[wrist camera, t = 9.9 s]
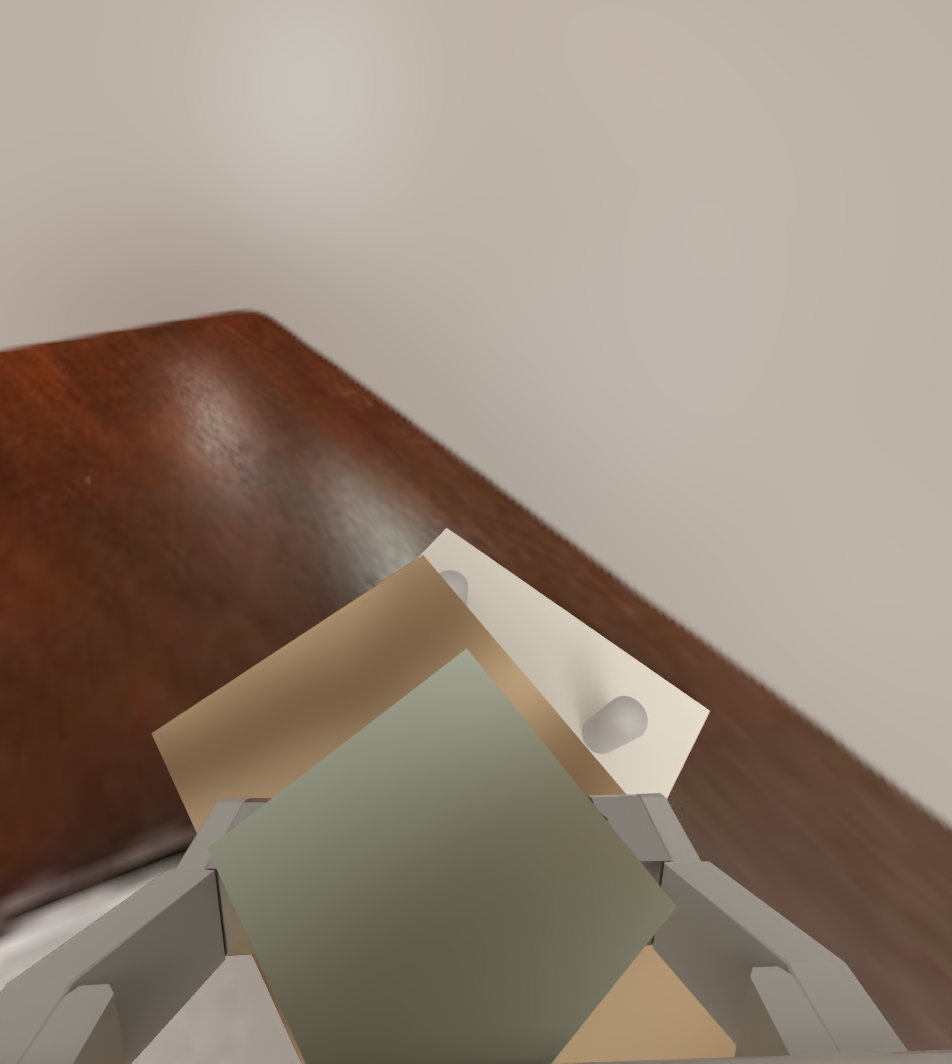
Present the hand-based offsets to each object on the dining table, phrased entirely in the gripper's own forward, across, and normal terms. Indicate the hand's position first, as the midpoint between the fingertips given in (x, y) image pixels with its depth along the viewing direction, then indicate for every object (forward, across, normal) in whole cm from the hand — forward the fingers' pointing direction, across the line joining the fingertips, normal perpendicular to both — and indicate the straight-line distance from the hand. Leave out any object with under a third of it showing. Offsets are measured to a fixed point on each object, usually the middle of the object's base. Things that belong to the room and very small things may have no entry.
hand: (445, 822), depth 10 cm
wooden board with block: (+4, 0, +5) cm, 6 cm away
